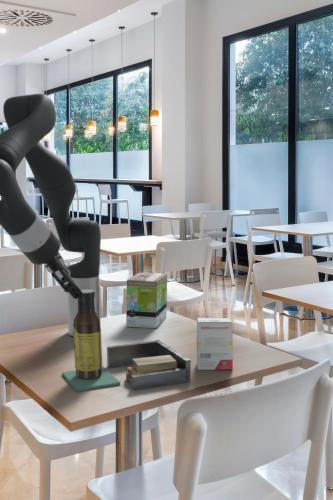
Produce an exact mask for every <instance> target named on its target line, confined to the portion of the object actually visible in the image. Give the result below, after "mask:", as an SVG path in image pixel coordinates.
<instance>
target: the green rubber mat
mask: <svg viewBox="0 0 333 500" xmlns="http://www.w3.org/2000/svg"><path fill="white" fill-rule="evenodd" d="M61 375H62V376H63V378H65V380H66V381H67V382H68V383H69V385H71V387H72V389H74V390H75V391H76V393H77V392H83V391H85V392H86V391H89V390H90V391H91V390H96V389H97V390H98V389H104V388H109V387H115V386H121V381H120V380H118V379H117V377H116V376H114V375H113V374H112V373H111V372H110V371H109V370H107V368H105V367H104V366H102V375H101V376H100V377H98V378H95V379H81V378H79V377H78V376H76V369H74V370H69V371H62V374H61Z"/></svg>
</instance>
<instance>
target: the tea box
mask: <svg viewBox="0 0 333 500" xmlns="http://www.w3.org/2000/svg"><path fill="white" fill-rule="evenodd" d="M167 305H168V273H159V272H155V273H154V272H138V273H136V274H134V275H133V276H130V277H129V278H127V279H126V309H125V310H126V311H125V312H126V315H125V317H126V318H125V322H126V323H125V325H126V326H125V327H128V328H129V327H130V328H141V329H142V328H144V329H145V328H146V329H156V328H157V327H158V326H160V324H161V323H162V322H164V320H166V318H167V315H168V314H167V311H168V309H167V307H168V306H167Z"/></svg>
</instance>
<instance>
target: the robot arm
mask: <svg viewBox="0 0 333 500" xmlns="http://www.w3.org/2000/svg"><path fill="white" fill-rule="evenodd" d="M2 113H3V117H4V120H5V124H6V126H7V129H6V130H4V131H2V132H1V133H0V197H2V199H0V227H2V229H3V230H4V231H5V232H6V234H8V235H9V237H10V239H11V240H12V242H13V243H14V245H16V246H17V248H18V249H19V250H20V251H21V252H22V254H24V256H25V257H26V259H28V261H29V262H30V263H31V264H32V265H35V266H36V265H37V266H38V265H39V266H40V265H44V267H45V269H46V270H47V272H48V273H50V274H51V277H52V278H53V279H54V280H55V281H56V282H57V283H58V285H59V286H60V287H61V288H62V289H63V291H64V293H66V294H67V318H68V319H67V324H68V325H67V326H68V330H67V331H68V335H69V336H71V337H73V338H74V331H73V324H74V319H75V317H76V315H77V313H78V299H77V298H78V297H80V296H81V295H82V294H83V293H82V291H81V290H85V289H90V290H94V292H95V297H94V306H95V312H96V313H97V315H98V316H99V318H100V319H101V299H100V298H101V296H100V294H101V293H100V266H101V245H102V244H101V235H102V234H101V228H100V224H99V223H98V222H97V221H96V220H85V219H83V220H81V219H74V218H72V217H71V214H70V211H69V210H70V208H71V205H72V204H73V200H74V199H75V196H76V189H77V186H76V182H75V180H74V177H73V175H72V172H71V168H70V167H69V166H68V164H67V162H66V161H64V160H63V158H61V157H60V156H59V155H57V154H56V153H55V152H53V151H52V150H50V149H49V148H48V147H46V146H45V145H44V144H43V143H42V142H41V140H42V139H44V138H45V137H46V136H47V135H48V134H49V133H51V131H52V130H53V129H54V128H55V125H56V121H57V112H56V108H55V105H54V101H53V100H52V98H51V97H50V96H48V94H44V93H35V94H34V93H33V94H25V95H18V96H17V95H16V96H12V97H9V98H7V99H6V100H5V101H4V103H3V111H2ZM24 158H25V160H26V163H27V164H28V166H29V168H30V171H31V172H32V175H33V177H34V180H35V182H36V186H37V188H38V189H39V192H40V194H41V196H42V197H43V199H44V202H45V204H46V206H47V208H48V211H49V214H50V215H51V217H52V221H53V224H54V228H55V230H56V233H57V236H58V237H57V236H56V235H55V233H54V232H53V231H52V230H51V228H50V227H49V226H48V225H47V223H46V221H44V219H43V218H42V217H40V215H38V214H37V213H36V211H35V210H34V209H33V207H32V206H31V205H30V204H29V202H28V201H27V200H26V198H25V196H24V195H23V194H24V193H23V192H22V190H21V188H20V185H19V182H18V179H17V178H16V173H15V172H16V171H17V169H18V167H19V166H20V164H21V162H22V161H23V159H24ZM61 247H62V248H63V250H65V251H67V252H70V253H83V255H84V256H83V259H82V260H80V261H79V262H78V261H77V262H76V263H73V264H70V265H68V266H67V264H66V263H65V260H64V258H63V256H62V254H60V252H59V251H60V248H61Z"/></svg>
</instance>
